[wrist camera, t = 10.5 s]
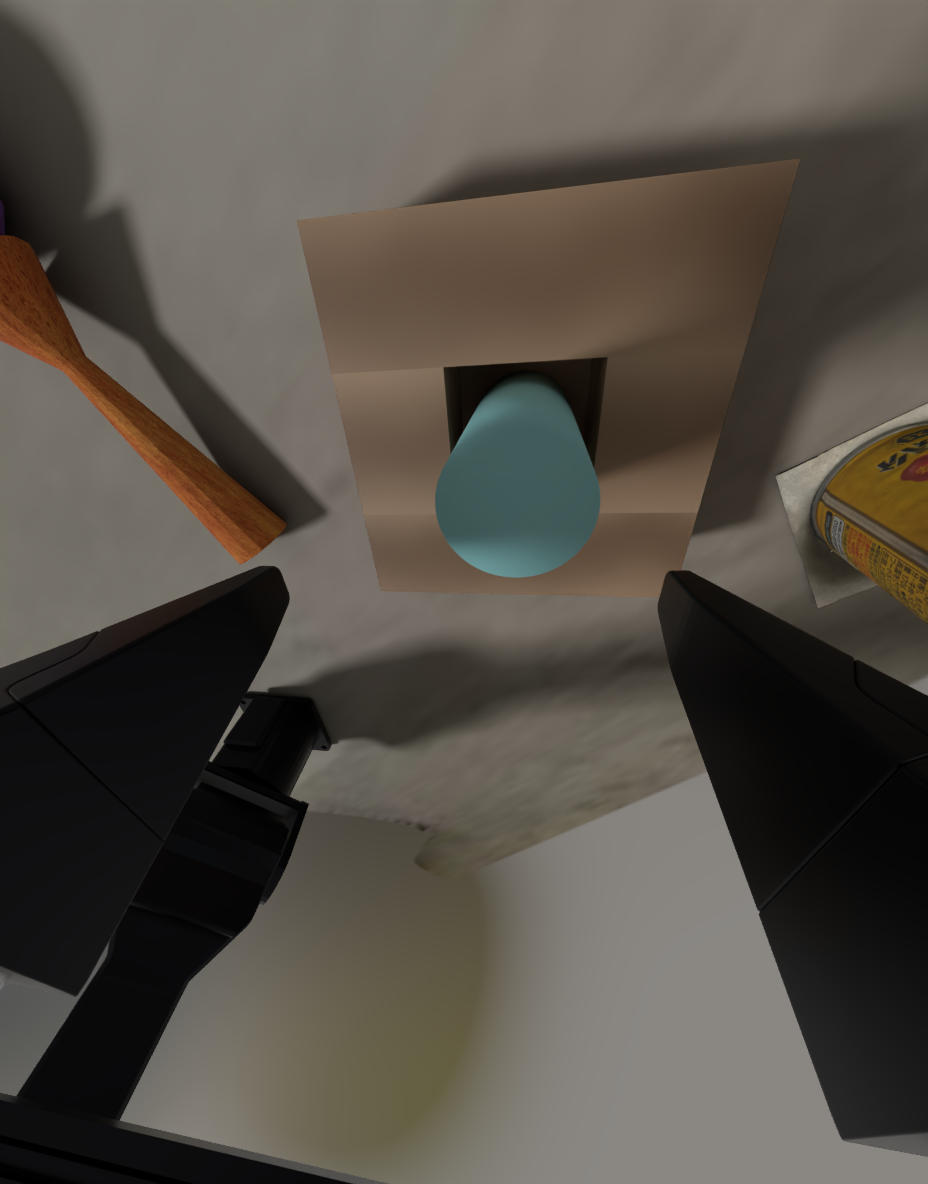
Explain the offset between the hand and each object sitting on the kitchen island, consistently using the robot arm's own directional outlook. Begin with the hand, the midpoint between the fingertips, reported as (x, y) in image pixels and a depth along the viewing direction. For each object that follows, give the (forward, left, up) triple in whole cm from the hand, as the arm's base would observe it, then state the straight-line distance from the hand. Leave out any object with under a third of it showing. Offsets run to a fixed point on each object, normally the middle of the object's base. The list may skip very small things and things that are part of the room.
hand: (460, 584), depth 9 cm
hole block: (+1, -1, -12) cm, 12 cm away
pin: (+1, -1, -11) cm, 11 cm away
